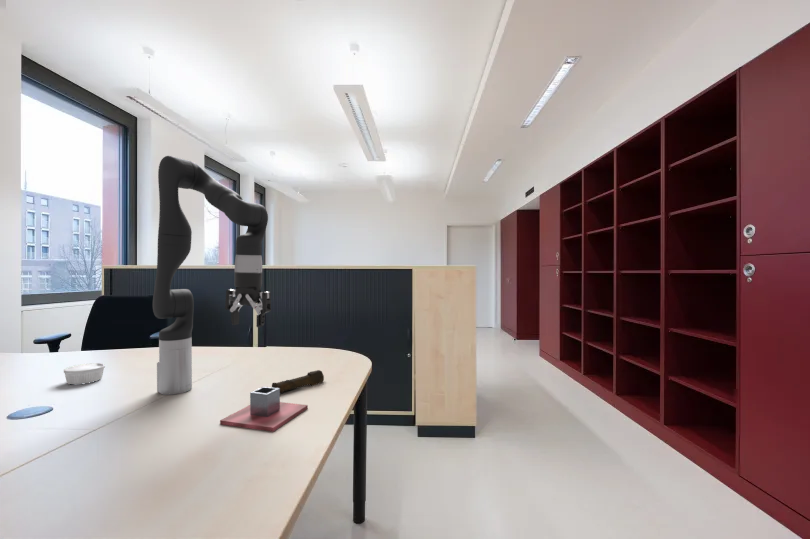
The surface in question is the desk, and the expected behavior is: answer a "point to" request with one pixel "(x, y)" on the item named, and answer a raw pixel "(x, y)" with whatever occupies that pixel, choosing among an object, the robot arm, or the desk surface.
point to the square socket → (264, 401)
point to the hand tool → (300, 381)
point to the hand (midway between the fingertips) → (247, 325)
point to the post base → (264, 423)
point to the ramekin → (84, 373)
